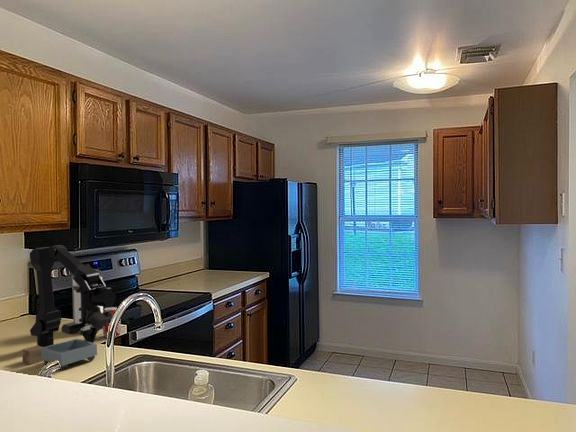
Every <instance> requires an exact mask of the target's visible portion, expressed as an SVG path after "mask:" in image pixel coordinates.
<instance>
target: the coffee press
mask: <svg viewBox="0 0 576 432" xmlns="http://www.w3.org/2000/svg"><path fill="white" fill-rule="evenodd" d="M84 265H85V266H88V267H91V265H90V264H89V263H85V264H84ZM94 269H95V270H97V271H98V272H99V274H100V277H101V278H102V279H103V277H104V274H102V271H101V270H100V269H96V268H94ZM71 280H72V285H71V286H72V287H71V289H72V322H73V323H78V324H79V323H81V322H79V319H81V311H79V308H81V296H80V293H77V292H76V290H77V289H79V285H78V284H77V283H76V282H75V280H74V276H73V275H72V276H71ZM93 286H95V285H93ZM89 287H90V286H89ZM98 307H100V311H101V313H103V312H104V309H105V306H98ZM85 325H87V324H85Z"/></svg>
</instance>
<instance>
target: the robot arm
mask: <svg viewBox="0 0 576 432" xmlns="http://www.w3.org/2000/svg"><path fill="white" fill-rule="evenodd" d="M29 259H30V265H31V266H32V268H33V269H34V271H35V272H36V281H37V293H38V304H39V305H38V306H39V308H38V311H37V313H36V315H35V323H34V324H33V325H32V327H31V328H30V330H29V332H30V336H32V337H36V345H38V346H41V347H46V346H50V345H54V344H55V341H54V333H55V332H59V330H60V325H61V322H62V321H63V320H62V314H61V313H62V312H61V310H60V309H57V308H56V306H55V300H54V289H53V278H52V277H53V276H52V268H53V266H54V265H55V261H56V260H57V261H58V262H59V263H60V264H61V265H62V266H63V267H64V268H65V269H67V270H68V272H70V273H71V275H72V276H74V280H75V282H76V283H77V284H78V285H79V289H77V290H76V292H77V293H80V296H81V308H79V311H81V319H79V322H81V323H79V324H78V323H73V321H71V322H67V323H63V324H62V326H61V333H64V334H67V335H75V334H78V333H80V334H81V335H82V337H83V338H84V339H83V340H84V341H88V342H92V343H95V340H96V336H97V334H98V332H99V331H100V330H102V329H103V326H104V327H105V326H107V323H108V324H109V323H110V321H111V318H112V316H113V315H112V312H110V311H107V312H105V313H104V311H103V313H101V311H100V307H98V306H104V308H109V307H113V306H114V304H115V303H116V299H117V295H116V294H115V292H114V291H112V288H111V287H110V286H109V287H107V285H106V283H105V282H104V280H103V277H102V278H101V277H100V274H99V272H98V271H97V270H98V269H97V270H95V269H96V268H93V267H91V266H90V267H88V266H85V265H86V264H83V262H81V260H79V259H78V258H77V257H76V256H75V255H74V254H72V253H71V252H70V251H69V250H68V249H67V248H66V246H64V245H62V244H59V245H52V246H47V247H46V246H45V247H38V248H37V247H35V248H32V250H31V251H30V252H29ZM93 285H95V286H93ZM89 286H90V287H89ZM85 324H87V325H85Z"/></svg>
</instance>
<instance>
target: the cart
mask: <svg viewBox="0 0 576 432" xmlns="http://www.w3.org/2000/svg"><path fill="white" fill-rule="evenodd" d="M97 355H98V344H97V343H96V342H94V343H92V342H88V341H86V340H85V339H79V338H72V339H69V340H65V341H62V342H58V343H57V342H56V343H54V345H50V346H46V347H43V348H41V359H42V360H44V361H43V363H44V364H45V365H47V364H46V363H48V362H51V361H54V360H58V361H59V363H60V365H61V369H60V370H66V369H67V368H68V367H69V366H68V365H70V364H73V363H76V362H79V361H82V360H85V359H87V360H88V361H90V362H91V361H94V359H95V357H96V356H97Z"/></svg>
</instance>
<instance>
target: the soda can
mask: <svg viewBox="0 0 576 432" xmlns="http://www.w3.org/2000/svg"><path fill="white" fill-rule="evenodd" d="M117 307H118V306H111V307H104V309H103V312H104V313H105V312H107V311H110V312H112V315H113V314H114V312H115V311H116V309H117ZM121 321H122V319H120V321H119V323H118V327H117V330H116V336H115V338H117V337H119V336H120V335H121V331H122V325H121V324H122V322H121ZM108 326H109V324H108V323H107V326H105V327H104V326H103V328H102V333H103V337H105V338H106V339H108V338H107V332H108Z"/></svg>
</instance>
